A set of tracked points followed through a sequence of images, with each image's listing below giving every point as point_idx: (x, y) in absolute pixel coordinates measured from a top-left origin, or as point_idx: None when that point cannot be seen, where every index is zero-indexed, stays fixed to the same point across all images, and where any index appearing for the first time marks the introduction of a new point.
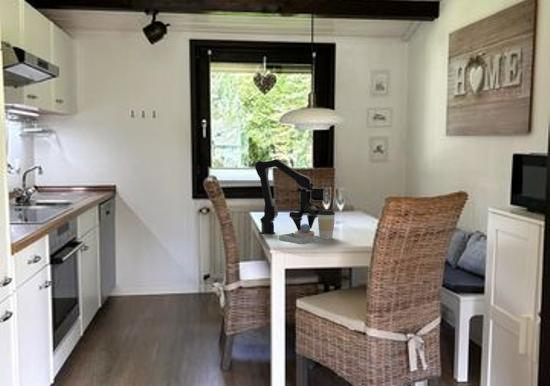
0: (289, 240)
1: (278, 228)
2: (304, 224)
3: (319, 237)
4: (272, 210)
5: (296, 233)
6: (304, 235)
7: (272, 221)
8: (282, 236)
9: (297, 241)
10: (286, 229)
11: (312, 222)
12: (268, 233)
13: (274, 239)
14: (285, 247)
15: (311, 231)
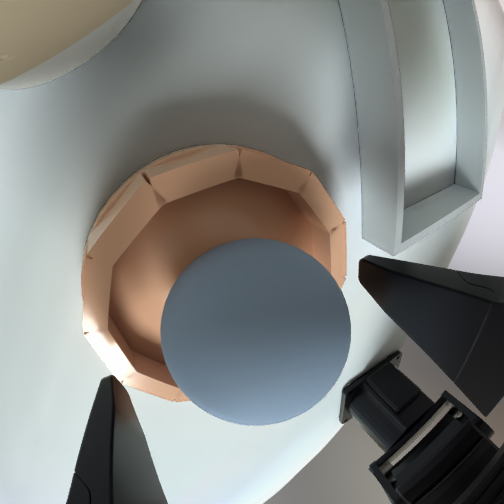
0: (465, 88)
1: (225, 494)
2: (337, 355)
3: (125, 25)
4: (497, 447)
5: (398, 203)
6: (393, 63)
7: (390, 449)
8: (482, 162)
9: (458, 14)
10: (201, 486)
11: (105, 469)
12: (391, 362)
13: None
14: (495, 10)
15: (107, 323)
